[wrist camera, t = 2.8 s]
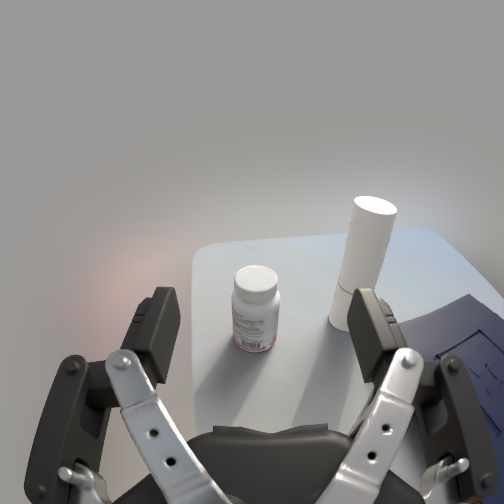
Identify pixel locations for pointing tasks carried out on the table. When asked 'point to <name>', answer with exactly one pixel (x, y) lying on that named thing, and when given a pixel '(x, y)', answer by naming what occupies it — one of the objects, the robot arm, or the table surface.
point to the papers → (469, 360)
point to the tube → (362, 253)
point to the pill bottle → (255, 308)
